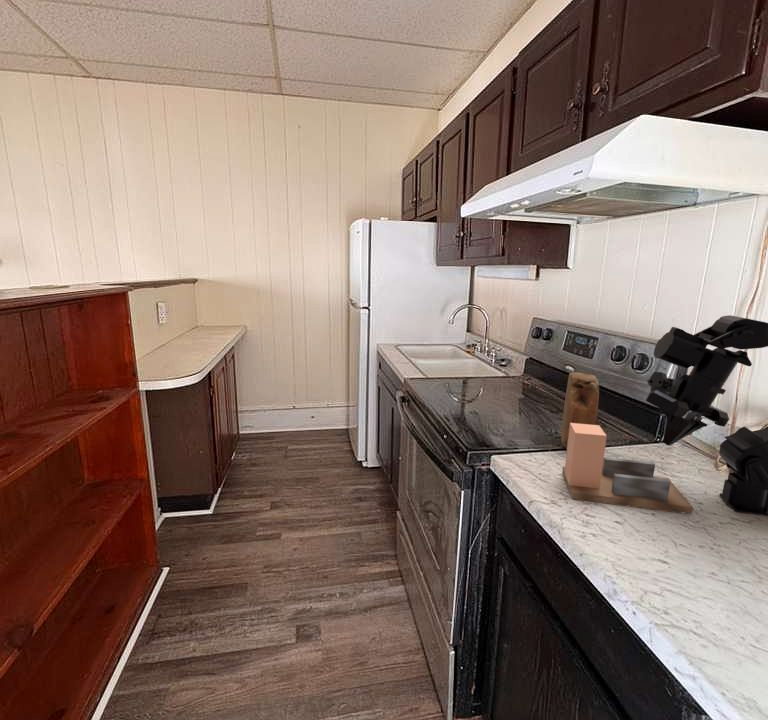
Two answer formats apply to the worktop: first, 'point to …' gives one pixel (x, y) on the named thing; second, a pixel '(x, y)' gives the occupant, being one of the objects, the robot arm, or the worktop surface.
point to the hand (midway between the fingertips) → (666, 444)
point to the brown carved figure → (580, 402)
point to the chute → (632, 487)
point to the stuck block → (585, 455)
